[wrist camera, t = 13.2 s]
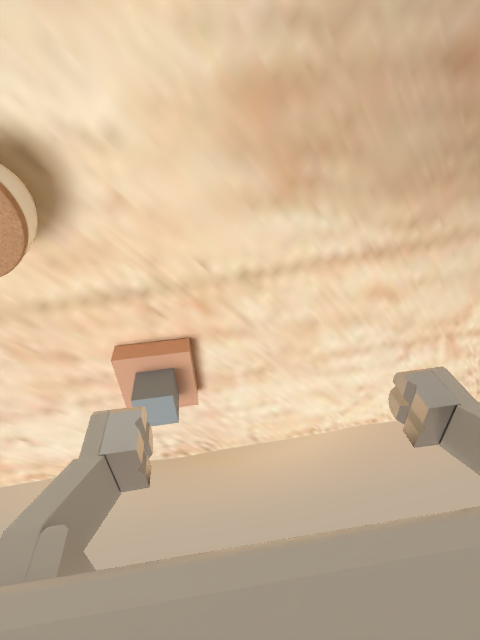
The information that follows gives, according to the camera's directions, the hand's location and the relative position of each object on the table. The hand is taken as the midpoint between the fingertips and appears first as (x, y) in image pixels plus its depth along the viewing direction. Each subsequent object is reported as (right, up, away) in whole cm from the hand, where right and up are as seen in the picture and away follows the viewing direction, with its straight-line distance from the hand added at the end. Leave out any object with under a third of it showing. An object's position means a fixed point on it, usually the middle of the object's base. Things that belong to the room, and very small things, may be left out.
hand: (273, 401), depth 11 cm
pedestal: (-13, -4, +39) cm, 41 cm away
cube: (-12, -6, +36) cm, 39 cm away
